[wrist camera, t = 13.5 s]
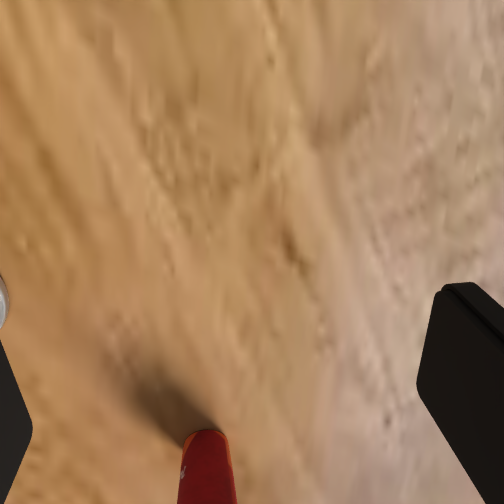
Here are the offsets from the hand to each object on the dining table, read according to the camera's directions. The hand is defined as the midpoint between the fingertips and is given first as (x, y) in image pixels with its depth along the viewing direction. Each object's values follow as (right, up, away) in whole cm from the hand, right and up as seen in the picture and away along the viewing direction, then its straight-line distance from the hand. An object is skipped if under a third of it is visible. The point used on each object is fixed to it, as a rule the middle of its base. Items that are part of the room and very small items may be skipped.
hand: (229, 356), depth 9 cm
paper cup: (-5, -22, +43) cm, 48 cm away
